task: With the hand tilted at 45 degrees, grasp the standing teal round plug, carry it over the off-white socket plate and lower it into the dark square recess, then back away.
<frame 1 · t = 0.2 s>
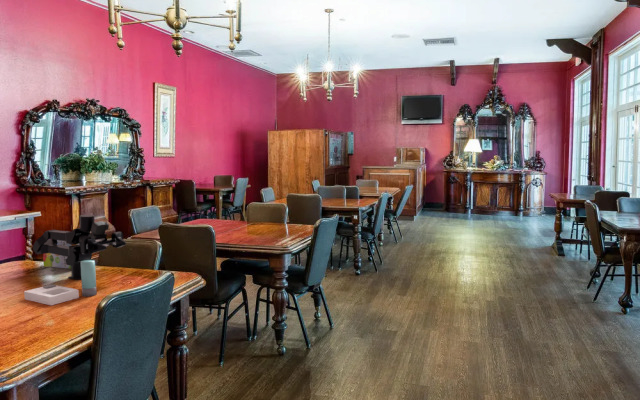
hand: (116, 245, 208), 16 cm above the table, tool horizontal, fingers open, 9 cm apart
plug: (89, 294, 196), on the table
socket plate: (51, 298, 191), on the table
snack box: (64, 267, 243), on the table
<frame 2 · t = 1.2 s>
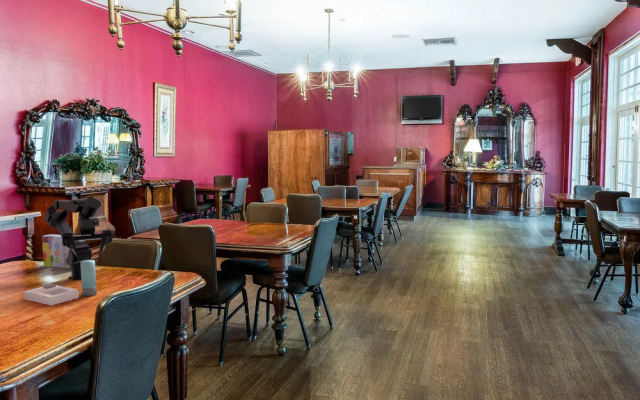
hand: (89, 254, 204), 14 cm above the table, tool tilted 45°, fingers open, 9 cm apart
nothing on the table moved.
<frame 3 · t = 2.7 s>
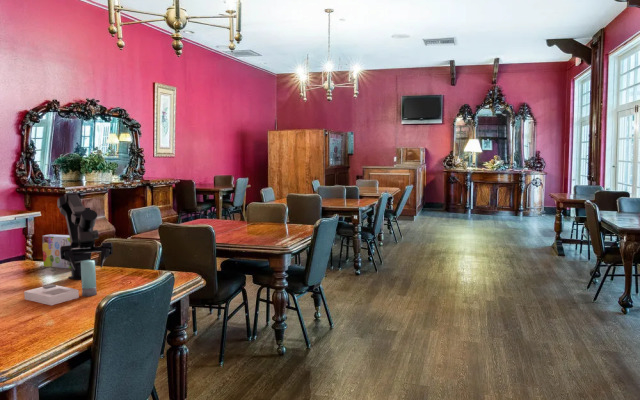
hand: (88, 268, 197), 10 cm above the table, tool tilted 45°, fingers open, 9 cm apart
nothing on the table moved.
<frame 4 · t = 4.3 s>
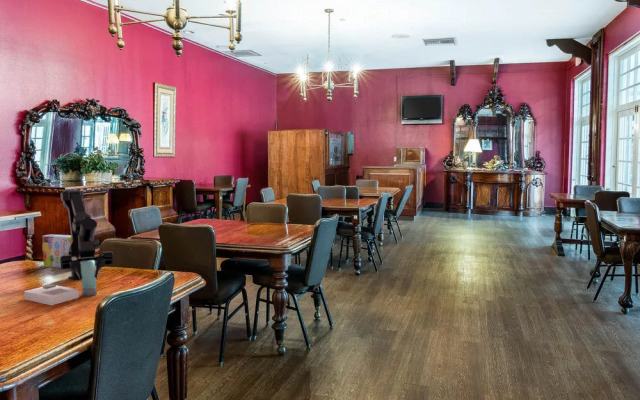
hand: (88, 278, 194), 7 cm above the table, tool tilted 45°, fingers closed on plug, 5 cm apart
plug: (89, 294, 196), on the table, touching gripper
everything else where it was.
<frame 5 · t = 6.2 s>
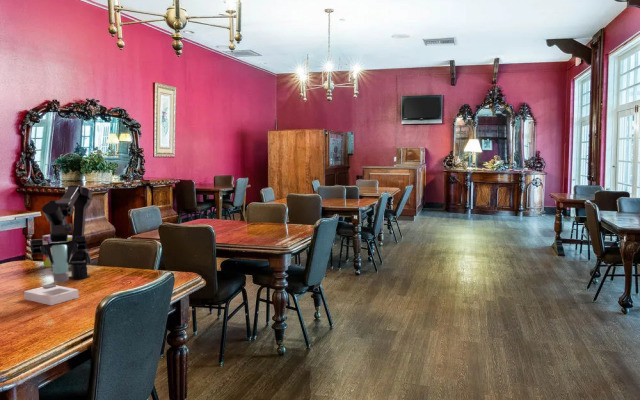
hand: (60, 263, 188), 14 cm above the table, tool tilted 45°, fingers closed on plug, 5 cm apart
plug: (61, 280, 190), point 7 cm above the table, touching gripper
everything else where it was.
when the fingers open (8 cm above the table, at t = 8.0 s): plug drops 1 cm, resting on socket plate.
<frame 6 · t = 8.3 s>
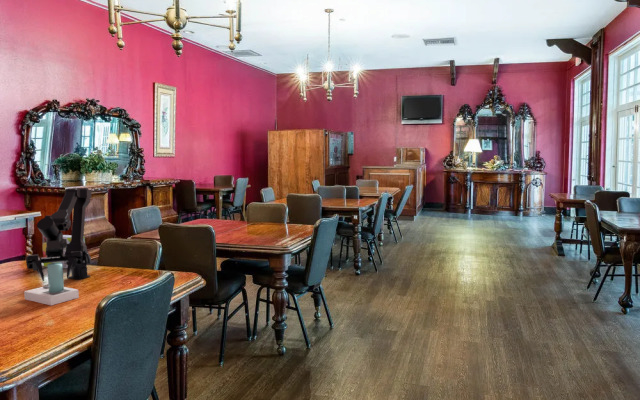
hand: (55, 279, 188), 8 cm above the table, tool tilted 45°, fingers open, 8 cm apart
plug: (56, 298, 190), resting on socket plate
everything else where it was.
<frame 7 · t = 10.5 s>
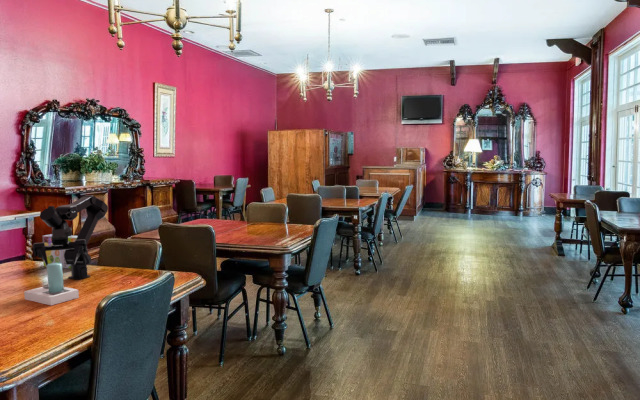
hand: (60, 265, 198), 11 cm above the table, tool tilted 45°, fingers open, 9 cm apart
nothing on the table moved.
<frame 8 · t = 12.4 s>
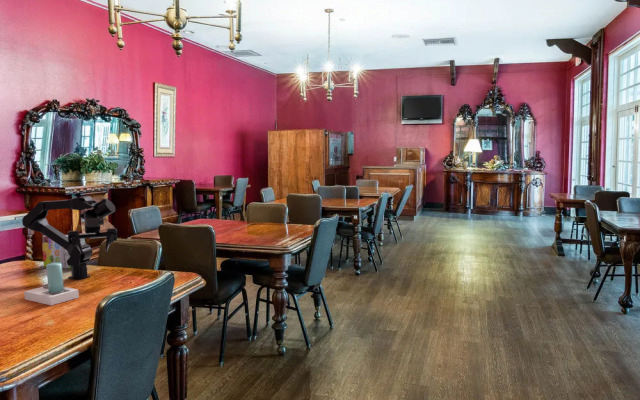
hand: (94, 252, 208), 14 cm above the table, tool tilted 45°, fingers open, 9 cm apart
nothing on the table moved.
at the end: plug 0.0 cm from the target spot on the socket plate, point 0.4 cm above the socket plate's base; plug tilted 1°; the gripper is holding nothing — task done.
